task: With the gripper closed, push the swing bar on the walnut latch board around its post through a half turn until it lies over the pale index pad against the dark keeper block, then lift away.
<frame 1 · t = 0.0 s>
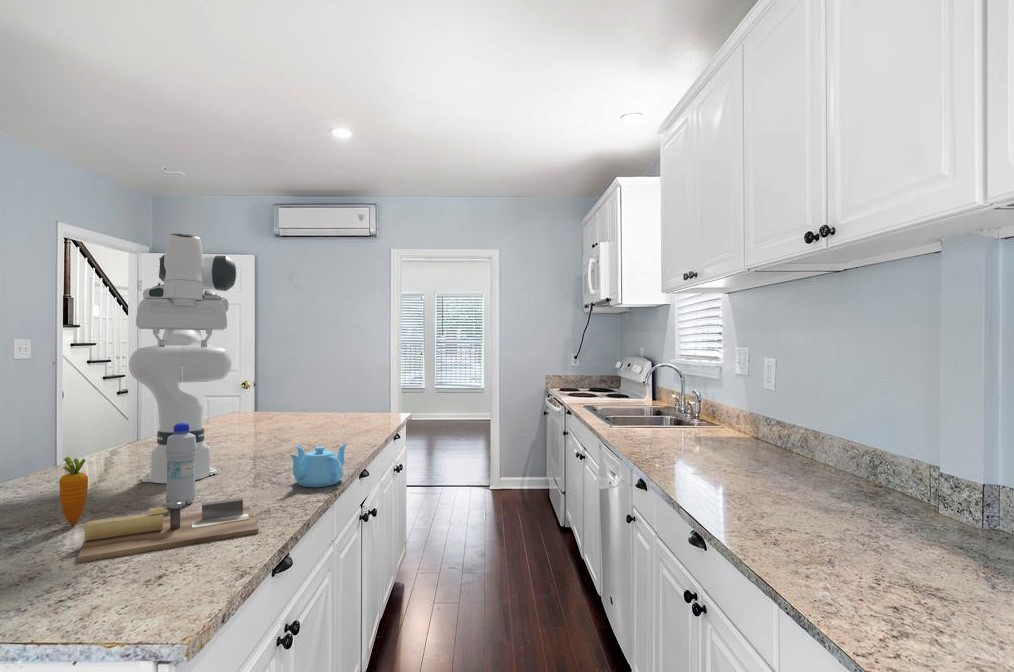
hand: (182, 347, 138), 39 cm above the worktop, tool pointing down, fingers open, 8 cm apart
swing bar: (137, 519, 109), point 4 cm above the worktop, hinge at 0.0°
bottle: (180, 504, 133), on the worktop
carrot: (73, 526, 116), on the worktop
teapot: (316, 483, 154), on the worktop
latch board: (175, 532, 113), on the worktop
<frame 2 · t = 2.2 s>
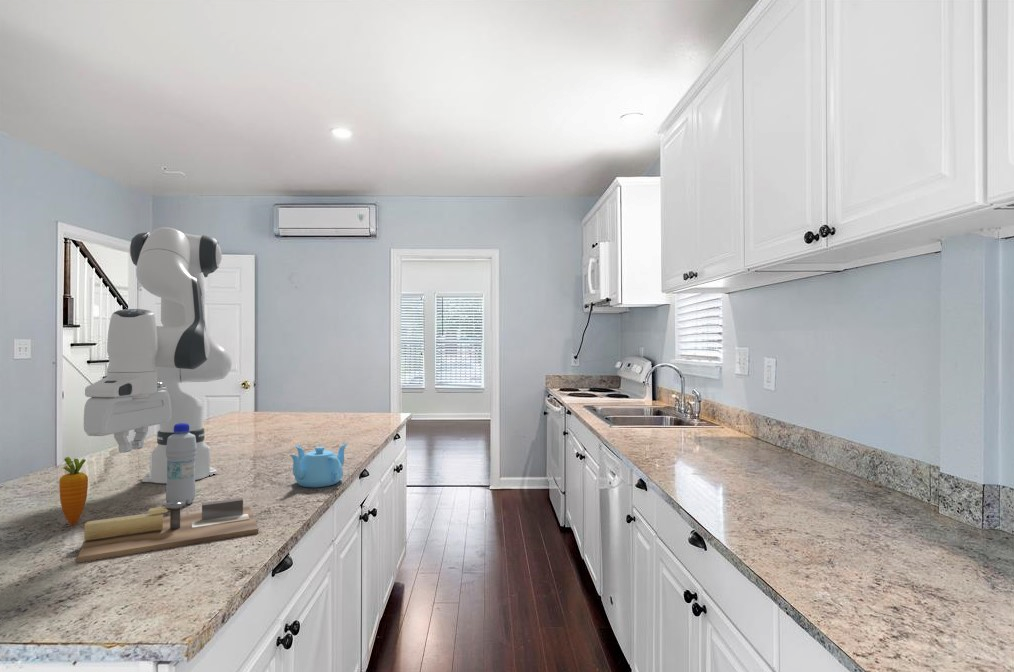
hand: (131, 450, 114), 17 cm above the worktop, tool pointing down, fingers closed
nothing on the worktop moved.
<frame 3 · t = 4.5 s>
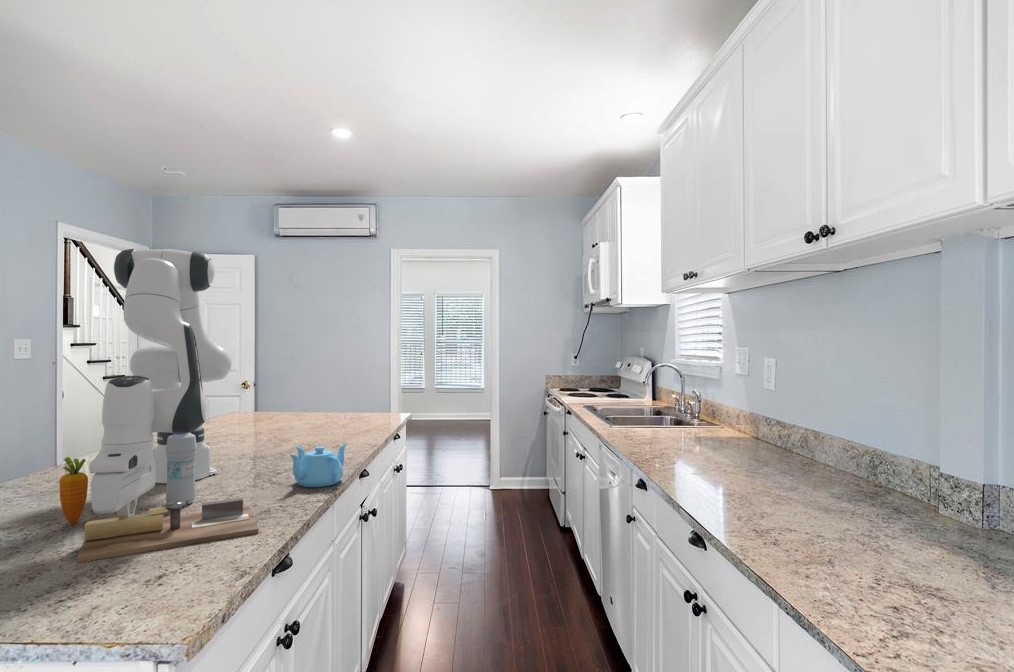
hand: (126, 522, 111), 3 cm above the worktop, tool pointing down, fingers closed
swing bar: (137, 519, 109), point 4 cm above the worktop, hinge at 0.0°, touching gripper
everything else where it was.
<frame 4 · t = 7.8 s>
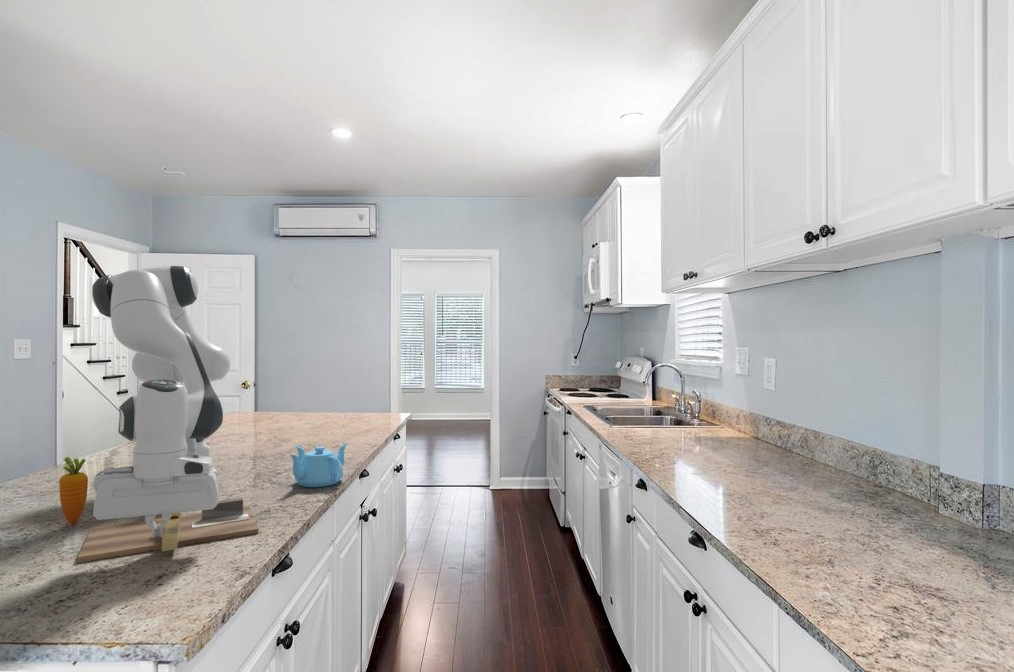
hand: (158, 536, 103), 3 cm above the worktop, tool pointing down, fingers closed
swing bar: (173, 523, 107), point 4 cm above the worktop, hinge at 87.0°, touching gripper
everything else where it was.
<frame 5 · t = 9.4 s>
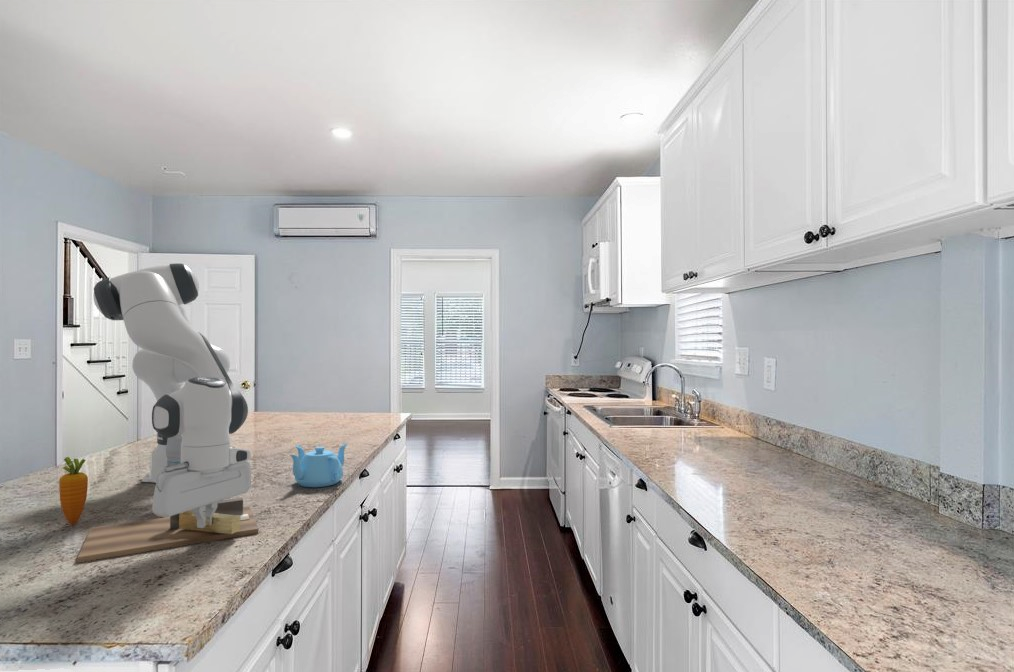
hand: (204, 526, 108), 3 cm above the worktop, tool pointing down, fingers closed
swing bar: (201, 516, 111), point 4 cm above the worktop, hinge at 135.1°, touching gripper
everything else where it was.
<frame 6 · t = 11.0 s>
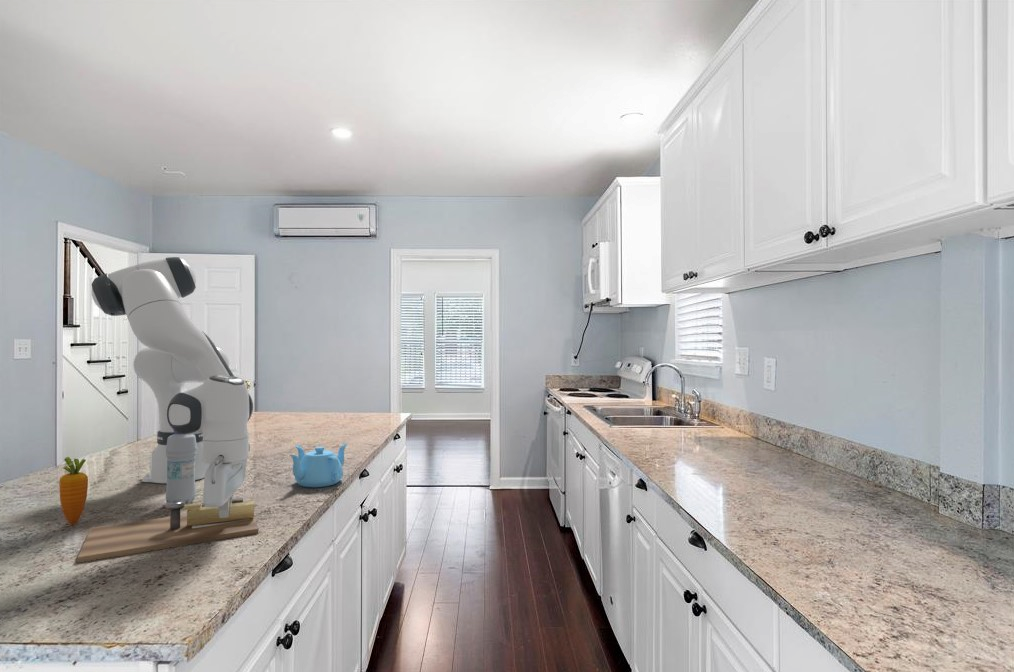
hand: (225, 516, 115), 3 cm above the worktop, tool pointing down, fingers closed
swing bar: (211, 510, 116), point 4 cm above the worktop, hinge at 174.6°, touching gripper
everything else where it was.
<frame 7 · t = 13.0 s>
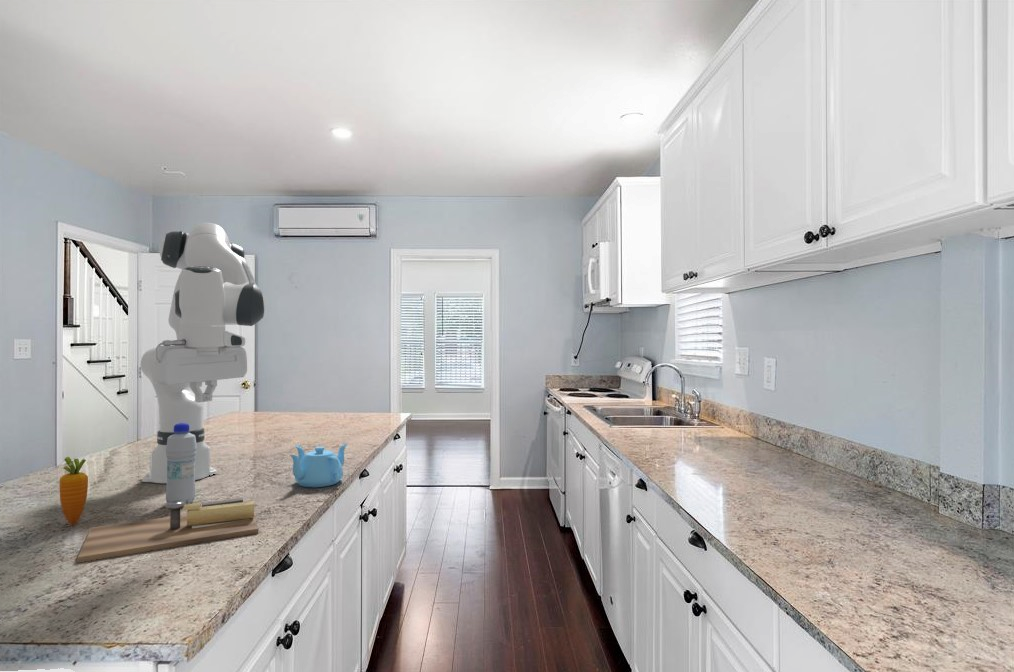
hand: (203, 401, 119), 27 cm above the worktop, tool pointing down, fingers closed
swing bar: (211, 510, 116), point 4 cm above the worktop, hinge at 174.7°
everything else where it was.
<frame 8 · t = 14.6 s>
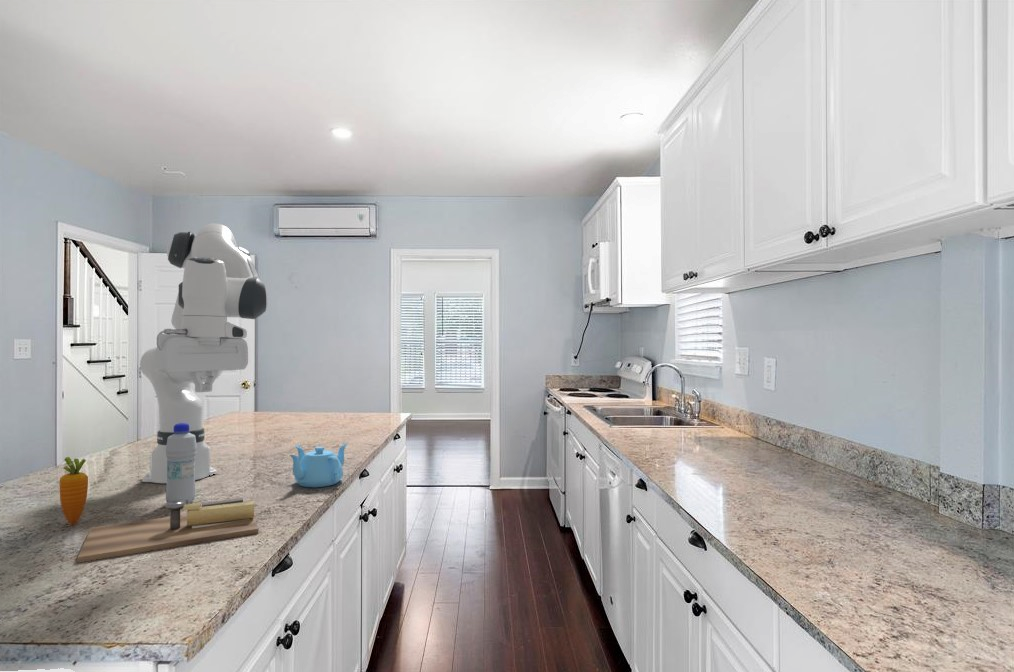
hand: (203, 391, 119), 29 cm above the worktop, tool pointing down, fingers closed
nothing on the worktop moved.
at the end: swing bar at +175° (first picture: +0°); swing bar touching nothing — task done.
